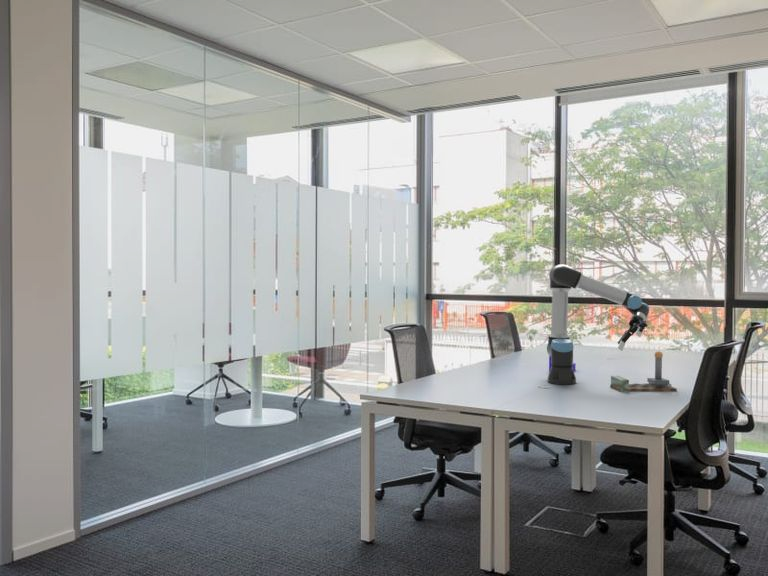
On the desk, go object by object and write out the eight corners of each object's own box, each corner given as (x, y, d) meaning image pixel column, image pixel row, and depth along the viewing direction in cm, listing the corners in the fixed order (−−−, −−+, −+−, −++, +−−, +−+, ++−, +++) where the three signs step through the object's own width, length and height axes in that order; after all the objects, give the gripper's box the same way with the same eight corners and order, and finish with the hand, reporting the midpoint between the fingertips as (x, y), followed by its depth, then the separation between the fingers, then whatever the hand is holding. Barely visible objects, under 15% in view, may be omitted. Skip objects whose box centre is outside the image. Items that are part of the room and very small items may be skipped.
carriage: (653, 386, 351) (654, 352, 350) (647, 383, 359) (647, 350, 358) (669, 386, 351) (669, 352, 350) (662, 383, 359) (662, 350, 358)
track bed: (619, 391, 347) (619, 380, 347) (609, 387, 361) (609, 375, 361) (677, 391, 348) (677, 380, 348) (665, 387, 362) (665, 375, 362)
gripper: (659, 313, 367) (651, 334, 351) (626, 338, 383) (618, 358, 368) (648, 304, 367) (640, 324, 351) (616, 329, 384) (607, 349, 368)
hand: (628, 342), depth 360 cm, fingers open, 13 cm apart
